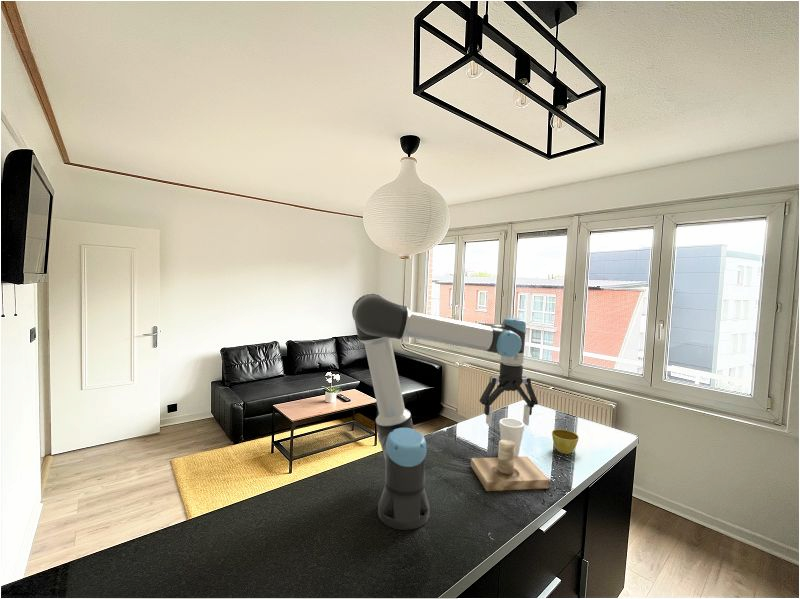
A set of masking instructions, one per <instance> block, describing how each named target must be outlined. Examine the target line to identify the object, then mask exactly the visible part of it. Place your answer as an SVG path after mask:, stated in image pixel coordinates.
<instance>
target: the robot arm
mask: <svg viewBox="0 0 800 599" xmlns="http://www.w3.org/2000/svg"><path fill="white" fill-rule="evenodd" d="M351 312H352V319H353V321H354V324H355V329H356V335H357V338H358V341H359V342H360V343H362V344H363V345H364V349H365V353H366V358H367V363H368V367H369V373H370V379H371V383H372V386H373V387H372V388H373V392H374V397H375V402H376V405H377V406H376V407H377V411H378V415H377V417H375V425H376V428H377V436H378V437H377V438H378V441H379V444H380V446H381V451H382V453H383V458H384V461H385V462H384V463H385V471H384V474H385V475H384V487H383V490H382V494H381V495H380V498H379V500H378V505H377V515H378V518H379V520H380V521H381V522H382V523H383V524H384V525H386V526H387V527H389V528H392V529H394V530H399V531H410V530H415V529H419V528H421V527H422V526H424V525H425V524H426V523H427V522H428V520H429V517H430V504H429V501H428V500H429V499H428V497H427V493H426V490H425V482H426V481H425V480H426V460H427V459H426V458H427V442H426V438H425V436H424V435H423V434H422V433H421V432H420V431H418V430H416V429H414V423H413V419H412V414H411V412H410V410H408V409H407V408H406V407H405V402H404V397H403V393H402V387H401V382H400V378H399V373H398V368H397V363H396V359H395V358H396V357H395V352H394V349H393V342H392V339H397V340H402V339H405V337H406V338H411V339H417V340H423V341H428V342H432V343H433V342H434V343H440V344H444V345H445V344H446V345H451V346H456V347H461V348H468V349H473V350H479V351H484V352H488V353H493V354H499V355H500V359H499V360H500V363H499V376H498V377H496V376H495V377H494V376H493V375H491V376H490V377H489V382H488V384H487V386H486V388H485V389H484V391H483V393H482V395H481V397H480V398H479V403H481V405H483V406H484V411H483V413H484V414H485V416H486V418H485V423H486V424H487V425H488V426H492V418H493V416H492V414H493V406H492V404H493V403H494V402H495V401H496V400H497V399H498V398H499V396H500V395H501V394H502V393H504V392H505V391H506V392H510V391H512V392H516V391H517V393H518V394H519V395H520V396H521V398H522V400H524V401H525V403H526V404H525V403H524V404H523V415H522V416H523V417H522V422H523V423H524V426H530V416H532V414H533V413H532V412H533V408H534V407H535V406H537V405H538V404H539V401H538V399H537V396H536V394H535V391H534V388H533V387H532V380H531V378H529V377H528V376H524V377H523V374H524V373H523V372H524V371H523V370H524V366H523V365H524V357H525V344H526V343H525V342H526V334H527V327H526V321H525V320H524V319H522V318H514V317H504V318H503V320H502V323H482V322H478V323H473V322H469V321H463V320H459V319H453V318H448V317H443V316H439V315H438V316H437V315H433V314H429V313H423V312H418V311H413V310H410V309H409V307H408V306H406V305H402V304H397V303H395V302H392V301H390V300H387V299H386V298H384V297H383V296H381V295H380V294H376V293H369V294H368V293H367V294H365V295H362V296H360V297H359V298H358V299H357V300H356V301H355V302H354V304H353V306H352V311H351ZM498 383H499V384H498ZM497 384H498V385H497ZM522 384H524V386H525V389H526V391H527V394H528V396H529V397H528V396H527V394H526V393H525V391H524V389H523V388H522V387H521V385H522ZM496 385H497V386H496ZM495 387H496V388H495Z"/></svg>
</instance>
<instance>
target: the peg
mask: <svg viewBox="0 0 800 599" xmlns="http://www.w3.org/2000/svg"><path fill="white" fill-rule="evenodd" d="M497 454H498V455H497V457H498V466H497V471H498V473H500V474H502V475H505V476H511V475H513V472H514V454H515V443H514V442H513V441H510V440H501V439H499V441H498V452H497Z"/></svg>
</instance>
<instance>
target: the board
mask: <svg viewBox="0 0 800 599" xmlns="http://www.w3.org/2000/svg"><path fill="white" fill-rule="evenodd" d="M497 466H498V456H497V457H472V458H470V467H471V468H472V470H473V472H474V473H475V475H476V476H477V478H478V479H479V481H480V483H481V484H482V486H483V488H484V489H485V491H486V492H493V491H494V492H495V491H514V490H515V491H516V490H520V491H521V490H537V489H539V490H540V489H549V488H550V478H548V476H547V475H546V474H544V472H543V471H542V470H540V468H539V467H538V466H537V465H536V464H535V463H534V462H533V461H532V460H531V458H529V457H528V456H525V455H524V456H518V457H514V472H513V475H511V476H505V475H502V474H500V473H498V471H497Z"/></svg>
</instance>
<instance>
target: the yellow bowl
mask: <svg viewBox="0 0 800 599" xmlns="http://www.w3.org/2000/svg"><path fill="white" fill-rule="evenodd" d="M551 438H552V441H553V444H554V447H555V449H556V450H557V452H559V453H561V454H564V455H570V454H571V453H572V452H573V451H574V450H575V449H576V447H577V444H578V442H579V438H580V437H579V435H578V434H577V433H575V432H574V431H570V430H567V429H560V428H559V429H553V430H552V431H551Z"/></svg>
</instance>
